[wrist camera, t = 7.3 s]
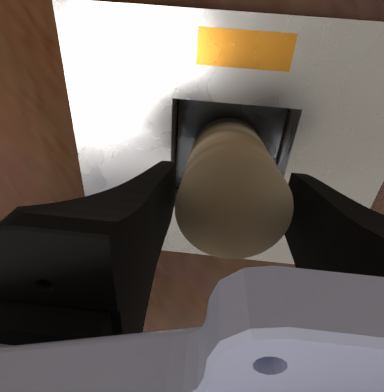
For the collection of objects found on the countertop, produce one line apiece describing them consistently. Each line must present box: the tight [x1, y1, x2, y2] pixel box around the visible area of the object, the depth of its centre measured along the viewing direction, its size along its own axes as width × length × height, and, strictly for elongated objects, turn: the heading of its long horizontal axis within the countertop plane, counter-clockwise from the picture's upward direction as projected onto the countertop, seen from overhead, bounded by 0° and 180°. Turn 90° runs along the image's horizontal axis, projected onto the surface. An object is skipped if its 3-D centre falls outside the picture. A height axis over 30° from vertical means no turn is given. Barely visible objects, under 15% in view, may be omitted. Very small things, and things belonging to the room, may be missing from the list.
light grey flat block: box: [52, 0, 384, 264], centre depth 15 cm, size 16×13×2 cm
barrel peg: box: [175, 118, 294, 259], centre depth 12 cm, size 4×4×7 cm
